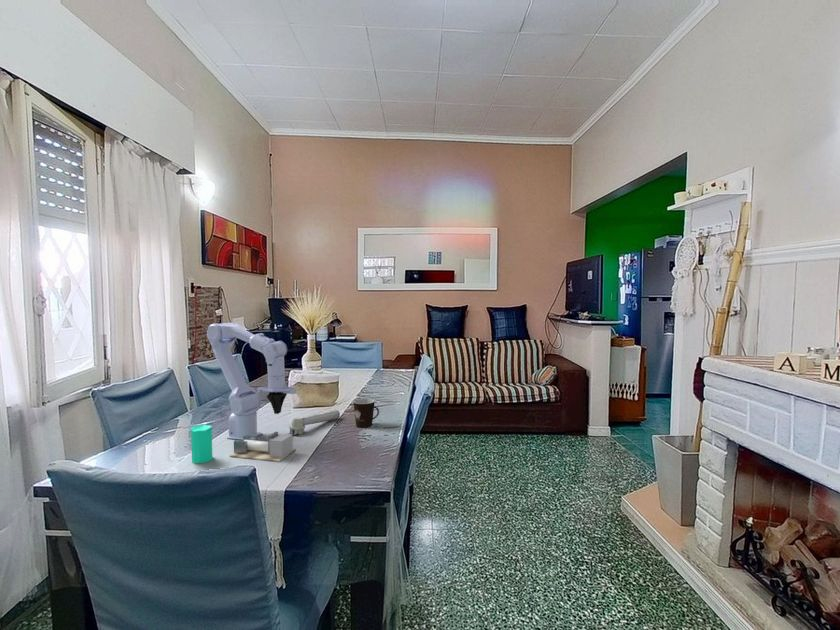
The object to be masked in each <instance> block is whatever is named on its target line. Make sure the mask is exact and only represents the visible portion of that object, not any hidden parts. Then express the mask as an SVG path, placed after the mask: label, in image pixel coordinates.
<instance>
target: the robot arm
mask: <svg viewBox="0 0 840 630" xmlns="http://www.w3.org/2000/svg"><path fill="white" fill-rule="evenodd" d="M206 337H207V339H208V342H209V343H210V346H211V348H212V349H211V350H212V353H213V355H214V356H215V358H216V361H217V363H218V365H219V367H220V370H221V371H222V373H223V375H224V378H225V380H226V382H227V384H228V386H229V388H230V390H231V393H230V395H229V397H228V401H229V404H230V405H229V406H230V407H229V408H230V411H231V412H232V413H231V414H230V415H229V417H228V436H227V437H226V438H227V439H230V440H238V441H243V436H245V435H247V436H257V437H259V436H261V435H263V432H262V431H258V420H257V419H258V416H257V415H258V412H259V408H260V406H261V405H262V399H261V398H262V397H261V396H260V394H261V393H264V394H267V395H266V399H268V401H269V403H270V404H271V407H272V410H273V413H274V415H279V414H280V413H282V412H281V411H282V408H283V404H284V401H285V399H286V397H287V395H288V394H289V395H296V394H297V387H292V386H286V379H285V378H286V375H285V356H286V355H287V353H288V347H287V346H288V345H287V344H286V343H285V342H284V341H283V340H278V341H276V340H275V339H274V338H269V337H268V336H265V333H262V332H260V333H255V334H254V333H252V332H251V331H248V330H247V329H245V328H243V327H241V325H240V324H238V323H236V322H233V321H231V322H226V323H212V324H210V325H209V326H208V327H207V332H206ZM236 339H238V340H241V341H244V342H245V343H248V344H249V347H250V348H251V349H253V350H255V351H256V352H257V351H258V352H260V353H261V354H262V355H263V356H264V358H265V363H266V364H267V366H266V367H267V386H258V387H257V390H255V388H254V387H251V385H248V384H247V383H246V381H245V378H244V377H243V375H242V372H241V370H240V368H239V366H238V364H237V362H236V359H235V358H234V356H233V354H232V352H231V347H232V346H233V344H234V343H235V342H236Z"/></svg>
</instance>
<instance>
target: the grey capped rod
mask: <svg viewBox="0 0 840 630" xmlns="http://www.w3.org/2000/svg"><path fill="white" fill-rule="evenodd" d="M340 416H341V413H340V411H339V410H336V409H334V410H327V411H325V412H321V413H316V414H312V415H308V416H303V417H293V418H292V420H291V424H290V425H289V426H288V429H289V434H290V435H292V436H297V435H303V434H305V433H304V432H305V428H306V426H308V425H314V424H320V423H325V422H333V421H335V420H338V419H340V418H341V417H340Z"/></svg>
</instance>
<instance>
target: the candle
mask: <svg viewBox="0 0 840 630" xmlns="http://www.w3.org/2000/svg"><path fill="white" fill-rule="evenodd" d="M190 437H191V438H190V439H191V440H190V441H191V444H190V445H191V463H192V464H203V463H207V462H210V461H212V460H213V457H214V456H213V429H212V425H208V424H202V423H200V424H198V425H195V426H193V427H190Z"/></svg>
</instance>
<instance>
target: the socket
mask: <svg viewBox="0 0 840 630" xmlns="http://www.w3.org/2000/svg"><path fill="white" fill-rule="evenodd" d="M269 443H270V457H275V458H283V457H284V456H286V455H287V454H289V453H290V452H292V451H293V449H294V448H293V447H294V446H293V435H291V434H290V433H286V434H285V433H278V436H276V437H274V438H272V439H271V440H269ZM292 453H293V452H292Z"/></svg>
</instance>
